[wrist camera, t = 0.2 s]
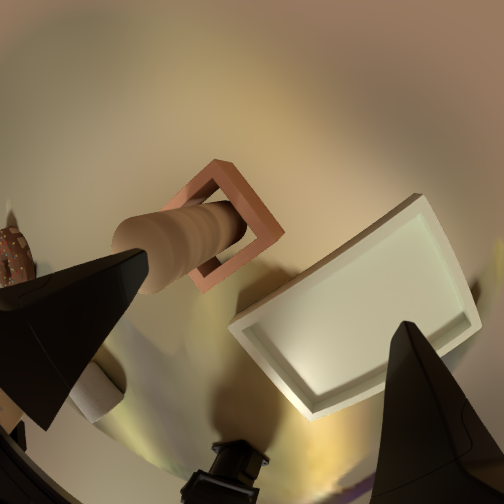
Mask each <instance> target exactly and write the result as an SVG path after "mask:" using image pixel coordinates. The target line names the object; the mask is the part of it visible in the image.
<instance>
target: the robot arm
mask: <svg viewBox="0 0 504 504" xmlns="http://www.w3.org/2000/svg"><path fill="white" fill-rule="evenodd" d="M148 273H149V263H148V255H147V252H146V251H145V250H143V249H140V248H133V249H130V250H126V251H123V252H119V253H116V254H113V255H109V256H106V257H103V258H99V259H96V260H93V261H89V262H86V263H83V264H80V265H76V266H73V267H70V268H67V269H64V270H61V271H58V272H54V274H53V273H51V274H48V275H45V276H42V277H39V278H36V279H32V280H29V281H25V282H22V283H18V284H14V285H10V286H7V287H3V288H0V504H82V503H81V502H80V501H78V500H77V499H76V498H74V497H73V496H72V495H71V494H69V493H68V492H67V491H66V490H64V489H63V488H62V487H61V486H60V485H58V484H57V483H56V482H55V481H54V480H53V479H52V478H50V477H49V476H48V475H47V474H46V473H45V472H44V471H43V470H42V469H41V468H40V467H39V466H38V465H36V464H35V463H34V462H33V461H32V460H31V459H30V458H29V456H27V454H25V451H26V449H27V447H26V437H25V426H24V425H25V424H24V422H23V421H22V420H21V419H22V418H23V416H24V415H25V414H26V415H27V416H29V417H30V418H31V419H32V420H33V421H34V422H35V423H36V424H37V425H39V426H40V427H41V428H42V429H43V430H45V431H47V430H48V428H49V427H50V425H51V423H52V421H53V420H54V418H55V416H56V415H57V413H58V411H59V410H60V408H61V406H62V405H63V403H64V401H65V400H66V398H67V397H68V395H69V393H70V392H71V390H72V388H73V387H74V385H75V384H76V382H77V381H78V379H79V377H80V376H81V374H82V373H83V371H84V370H85V368H86V367H87V365H88V364H89V362H90V361H91V359H92V358H93V356H94V355H95V353H96V352H97V350H98V349H99V348H100V346H101V345H102V343H103V342H104V340H105V339H106V338H107V336H108V335H109V333H110V332H111V330H112V329H113V328H114V326H115V325H116V323H117V322H118V321H119V319H120V318H121V317H122V315H123V314H124V312H125V311H126V310H127V308H128V307H129V305H130V303H131V302H132V301H133V299H134V297H135V295H136V294H137V292H138V290H139V289H140V287H141V286H142V284H143V282H144V281H145V279H146V277H147V276H148ZM211 449H212V450H213V451H214V452H215V453H216V454H218V455H217V457H216V459H215V461H214V463H213V465H212V466H211V468H210V470H209V472H208V473H207V472H204V471H203V470H200V469H199V470H198V471H197V472H194V473H193V475H192V476H191V478H190V480H189V481H188V482H187V483H186V484H185V486H184V487H183V488H182V489H181V490H180V493H181V495H182V496H181V503H183V504H256V501H257V497H258V494H259V490H260V488H253V484H254V481H255V480H256V479H257V477H258V474H259V471H260V468H261V466H265V465H268V464H269V461H268V460H266V459H265V458H264V457H263V456H262V455H260V454H259V453H258V452H257V451H256V450H254V449H253V448H252V447H251V446H250V445H249V444H248V443H246V442H245V441H243V440H239V441H234V442H230V443H225V444H220V445H215V446H212V448H211ZM369 504H504V454H503V452H502V451H501V450H500V448H499V446H498V445H497V444H496V442H495V440H494V439H493V437H492V436H491V434H490V433H489V432H488V430H487V429H486V427H485V426H484V424H483V423H482V421H481V420H480V418H479V417H478V415H477V413H476V412H475V410H474V409H473V407H472V406H471V404H470V402H469V401H468V399H467V398H466V396H465V394H464V393H463V391H462V390H461V388H460V387H459V385H458V384H457V382H456V380H455V379H454V377H453V376H452V374H451V373H450V371H449V370H448V368H447V367H446V365H445V364H444V363H443V361H442V360H441V358H440V357H439V355H438V354H437V353H436V351H435V350H434V348H433V347H432V346H431V344H430V343H429V341H428V340H427V339H426V337H425V336H424V335H423V333H422V332H421V331H420V329H419V328H418V327H417V325H416V324H415V323H414V322H411V321H406V320H404V321H402V322H401V323H400V325H399V327H398V328H397V330H396V332H395V333H394V335H393V337H392V339H391V342H390V350H389V358H388V366H387V374H386V381H385V395H384V410H383V422H382V432H381V441H380V449H379V456H378V462H377V469H376V474H375V480H374V485H373V490H372V495H371V499H370V503H369Z"/></svg>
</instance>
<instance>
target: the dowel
mask: <svg viewBox="0 0 504 504" xmlns="http://www.w3.org/2000/svg"><path fill="white" fill-rule="evenodd" d="M246 230H247V223H246V222H245V220H244V219H243V218H242V216H241V215H240V214H239V212H238V211H237V210H236V208H235V207H234V206H233V204H232V203H231V202H230V201H227V200H224V201H217V202H211V203H205V204H199V205H193V206H187V207H182V208H176V209H171V210H165V211H160V212H155V213H150V214H145V215H140V216H135V217H131V218H128V219H126V220H125V221H123V222H122V223H121V224H120V225H119V226H118V227H117V229H116V231H115V233H114V236H113V239H112V255H113V254H116V253H119V252H123V251H126V250H130V249H133V248H140V249H143V250H145V251H146V252H147V255H148V263H149V273H148V276H147V277H146V279H145V281H144V282H143V284H142V286H141V287H140V289H139V290H138V292H139V293H142V294H154V293H157V292H159V291H161V290H162V289H164V288H165V287H167V286H168V285H170V284H172V283H173V282H175V281H176V280H178V279H179V278H181V277H183V276H184V275H186V274H187V273H189V272H190V271H192V270H194V269H195V268H197V267H198V266H200V265H201V264H203V263H205V262H206V261H208V260H209V259H211V258H212V257H214V256H216V255H217V254H219V253H220V252H222V251H224V250H225V249H227V248H228V247H230V246H231V245H233V244H235V243H236V242H238V241H239V240H240V239H241V238H242V237H243V236H244V234H245V232H246Z"/></svg>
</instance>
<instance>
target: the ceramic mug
mask: <svg viewBox="0 0 504 504" xmlns="http://www.w3.org/2000/svg"><path fill="white" fill-rule="evenodd" d="M69 395H70V397H71V398H72V399H73V400H74V402H75V403H76V405H77V406H78V407H79V409H80V410H81V411H82V412H83V414H84V415H85V416H86V418H87V419H88V420H89V421H90V422H91V423H94V422H96V421H97V420H99V419H101V418H102V417H103V416H104V415H106V414H107V413H108V412H109V411H111V410H112V409H113V408H114V407H115V406H116V405H117V404H119V403H120V402H121V401H122V400H123V398H124V395H123V394H122V393H121V392H120V391H119V390H118V388H117V387H116V386H115V385H114V384H113V383H112V382H111V381H110V379H109V378H108V377H107V376H106V375H105V374H104V372H103V371H102V370H101V369H100V367H99V366H98V365H97V364H96V363H94V362H93V361H90V362H89V364H88V365H87V367H86V368H85V370H84V371H83V373H82V374H81V376H80V377H79V379H78V381H77V382H76V384H75V385H74V387H73V388H72V390H71V392H70V393H69Z"/></svg>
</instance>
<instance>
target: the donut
mask: <svg viewBox="0 0 504 504" xmlns="http://www.w3.org/2000/svg"><path fill="white" fill-rule="evenodd" d="M32 279H35V271H34V264H33V259H32V255H31V251H30V248H29V246H28V243H27V241H26V239H25V237H24V236H23V234H22V233H20V232H19V231H18V229H17V228H14V227H13V226H9V227H6V228H4V229H1V230H0V283H1V285H2V287H7V286H10V285H14V284H18V283H22V282H25V281H29V280H32Z"/></svg>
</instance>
